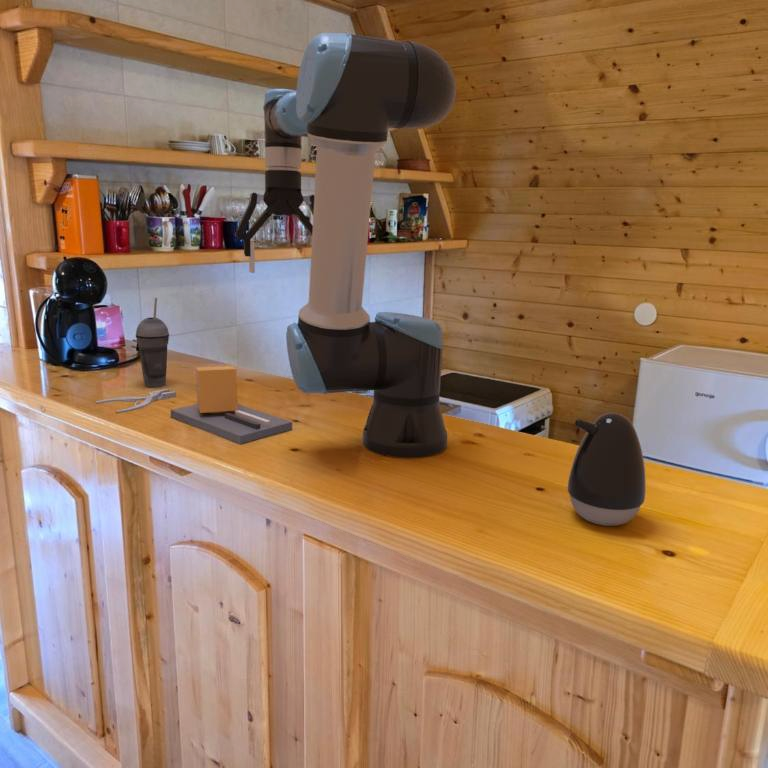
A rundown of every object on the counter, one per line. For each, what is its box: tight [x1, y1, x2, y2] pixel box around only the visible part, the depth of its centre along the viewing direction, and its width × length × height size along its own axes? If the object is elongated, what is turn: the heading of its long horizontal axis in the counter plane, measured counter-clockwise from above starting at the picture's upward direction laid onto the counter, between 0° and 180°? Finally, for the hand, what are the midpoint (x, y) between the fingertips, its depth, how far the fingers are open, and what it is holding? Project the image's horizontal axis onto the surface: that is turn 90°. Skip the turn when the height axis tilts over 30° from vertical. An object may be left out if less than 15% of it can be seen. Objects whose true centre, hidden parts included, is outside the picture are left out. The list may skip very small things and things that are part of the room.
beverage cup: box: [135, 297, 170, 388], centre depth 156 cm, size 7×7×20 cm
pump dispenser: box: [567, 412, 647, 527], centre depth 94 cm, size 10×10×15 cm
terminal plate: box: [170, 403, 293, 445], centre depth 132 cm, size 22×12×6 cm, turn 49°
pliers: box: [94, 388, 177, 414], centre depth 145 cm, size 10×2×15 cm
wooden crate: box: [195, 365, 239, 413], centre depth 134 cm, size 7×7×8 cm
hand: (283, 272), depth 150 cm, fingers open, 13 cm apart
